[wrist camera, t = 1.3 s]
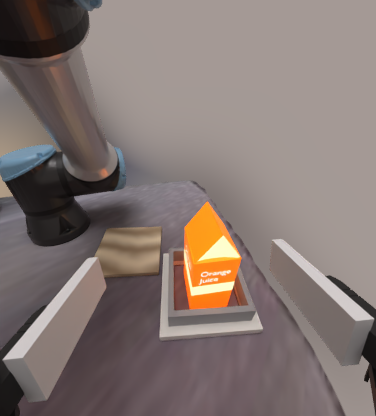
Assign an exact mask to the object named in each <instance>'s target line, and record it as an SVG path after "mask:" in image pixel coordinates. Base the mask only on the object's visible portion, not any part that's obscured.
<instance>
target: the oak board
mask: <svg viewBox="0 0 376 416" xmlns="http://www.w3.org/2000/svg"><path fill="white" fill-rule="evenodd" d="M161 234H162V227H135V228H107V230H106V232H105V235H104V237H103V239H102V241H101V243H100V245H99V248H98V250H97V252H96V254H95V256H94V257H98V258H99V262H100V265H101V269H102V272H103V276H104V278H108V277H127V276H147V275H159V263H160V248H161Z"/></svg>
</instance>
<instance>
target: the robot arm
mask: <svg viewBox="0 0 376 416" xmlns="http://www.w3.org/2000/svg"><path fill="white" fill-rule="evenodd" d="M101 5H102V0H0V71H1V72H2V73H3V75H4V76H5V77H6V79H7V80H8V81H9V82H10V84H11V85H12V86H13V88H14V89H15V90H16V92H17V93H18V94H19V96H20V97H21V98H22V100H23V101H24V102H25V104H26V105H27V106H28V107H29V109H30V110H31V111H32V113H33V114H34V115H35V116H36V118H37V119H38V121H39V122H40V123H41V125H42V126H43V127H44V129H45V130H46V131H47V132H48V134H49V135H50V136H51V137H52V139H53V140H54V142H55V143H56V144H57V146H58V147H59V148H60V149H61V151H62V152H56V149H55V148H54V147H53V146H52V145H38V146H32V147H27V148H23V149H19V150H16V151H13V152H10V153H8V154H6V155H4V156H2V157H0V175H1V177H2V180H3V181H4V182H5V183H6V185H7V187H8V188H9V190H10V191H11V193H12V194H13V196H14V198H15V199H16V201H17V202H18V204H19V205H20V207H21V209H22V210H23V212H24V213H25V215H26V224H27V233H28V236H29V237H30V239H31V240H32V242H33V243H35V244H37V245H41V246H52V245H58V244H62V243H65V242H67V241H70V240H72V239H74V238H76V237H77V236H79V235H80V234H82V233H83V232H84V231H85V230H86V229H87V228H88V226H89V223H90V219H89V217H88V214H87V212H86V211H85V210H83V208H82V207H81V206H80V205H79V204H78V203H77V201H76V200H75V198H74V196H80V195H87V194H94V193H101V192H107V191H116V190H119V189H123V188H124V187H125V185H126V175H125V174H126V170H125V163H124V158H123V154H122V152H121V150H120V149H119V148H115V147H113V146H112V145H111V144H110V143H109V142H107V141H106V138H105V134H104V130H103V127H102V123H101V120H100V116H99V112H98V109H97V105H96V102H95V98H94V95H93V91H92V87H91V84H90V80H89V76H88V73H87V69H86V66H85V62H84V58H83V55H82V51H81V47H80V46H81V45H82V44H83V43H84V42H85V40H86V38H87V36H88V33H89V28H90V24H89V15H88V11H92V10H93V9H94V8H99V7H100V6H101ZM270 271H271V272H272V274H273V275H274V277H275V278H276V279H277V281H278V282H279V283H280V285H281V286H282V287H283V289H284V290H285V291H286V293H288V295H289V296H290V298H291V299H292V300H293V302H294V303H295V304H296V306H297V307H298V308H299V310H300V311H301V312H302V314H303V315H304V316H305V318H306V319H307V320H308V322H310V324H311V326H312V327H313V328H314V330H315V331H316V332H317V334H318V335H319V336H320V338H321V339H322V340H323V341H324V343H325V344H326V345H327V347H328V348H329V349H330V351H331V352H332V353H333V355H334V356H335V357H336V359H337V360H338V361H339V363H340V364H341V365H342V366H348V365H356V364H359V361H360V359H361V356H362V355H363V357H364V358H365V359H366V360H367V361H368V362H369V363H370V364H369V366H368V369H367V371H366V374H365V378H364V381H366V382H368V380H369V378H370V383H371V388H372V395H373V401H374V408H375V415H376V309H375V308H373V307H372V306H371V305H370V304H368V303H367V302H366V301H365V300H364V299H362V298H361V297H360V296H358V295H357V294H356V293H355V292H354V291H353V290H350V288H349V287H347V286H346V285H345V284H344V283H343V282H341V281H340V280H338V279H336V278H334V277H332V276H324V275H323V274H322V273H321V272H320V271H318V270H317V269H316V268H315V267H314V266H312V265H311V264H310V263H309V262H308V261H307V260H306V259H305V258H303V257H302V256H301V255H300V254H299V253H298V252H296V251H295V250H294V249H293V248H292V247H291V246H289V245H288V244H287V243H286V242H285V241H283V239H277V240H272V247H271V259H270ZM106 287H107V286H106V283H105V279H104V276H103V272H102V269H101V265H100V262H99V258H98V257H94V258H87V260H86V261H85V262H84V263H83V264H82V266H81V267H80V268H79V269H78V270H77V272H76V273H75V274H74V275H73V276H72V277H71V279H70V280H69V281H68V282H67V283H66V285H65V286H64V287H63V288H62V289H61V291H60V292H59V293H58V294H57V295H56V297H55V298H54V299H53V300H52V301H51V303H50V304H49V305H47V306H43V307H41V308H40V309H39V310H38V311H36V312H35V313H34V314H33V315H32V316H31V317H30V318H29V319H28V320H27V321H26V323H25V324H24V326H22V327H21V328H20V329H19V330H18V332H17V334H15V335H14V336H13V337H12V338H11V339H10V341H9V342H8V343H7V344H6V345H5V346H4V347H3V349H2V350H1V351H0V416H20V410H19V407H18V405H17V404H18V403H19V401H20V400H21V398H22V397H23V395H25V397H26V398H27V400H28V401H29V402H37V401H46V400H47V399H48V398H49V396H50V394H51V392H52V390H53V388H54V386H55V384H56V382H57V380H58V379H59V377H60V375H61V373H62V371H63V369H64V367H65V365H66V363H67V361H68V359H69V358H70V356H71V354H72V352H73V350H74V348H75V346H76V344H77V342H78V340H79V338H80V337H81V335H82V333H83V331H84V329H85V327H86V325H87V323H88V321H89V319H90V318H91V316H92V314H93V312H94V310H95V308H96V306H97V304H98V302H99V300H100V298H101V297H102V295H103V293H104V291H105V289H106Z"/></svg>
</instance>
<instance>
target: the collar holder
mask: <svg viewBox="0 0 376 416" xmlns="http://www.w3.org/2000/svg"><path fill="white" fill-rule="evenodd" d="M174 265H184V248H169V253H166V254H163V275H162V296H161V317H160V341H166V340H178V339H191V338H203V337H215V336H228V335H240V334H252V333H261V332H262V330H263V328H262V325H261V322H260V320H259V317H258V314H257V312H256V309H255V306H254V303H253V301H252V298H251V296H250V293H249V290H248V288H247V285H246V282H245V280H244V277H243V275H242V272H241V269H240V267H239V268H238V271H237V274H236V278H235V282H234V285H233V289H234V292H235V295H236V299H237V302H238V305H239V306H232V307H218V308H203V309H188V310H174Z"/></svg>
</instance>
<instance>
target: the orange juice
mask: <svg viewBox="0 0 376 416" xmlns="http://www.w3.org/2000/svg"><path fill="white" fill-rule="evenodd" d="M241 259H242V258H241V257H240V255H239V253H238V251H237V249H236V247H235V245H234V243H233V241H232V239H231V237H230V235H229V233H228V231H227V230H226V228H225V226H224V224H223V222H222V221H221V220H220V218H219V217H218V216H217V214H216V213H215V211H214V210H213V209H212V207H211V206H210V205H209V203H208V202H206V204H205V205H204V206H203V207H202V208H201V209H200V211H199V212H198V213H197V214H196V215H195V216H194V218H193V219H192V220H191V221H190V222H189V223H188V225H187V226H186V227H185V248H184V277H185V283H186V289H187V295H188V301H189V307H190V309H203V308H218V307H225V306H227V304H228V301H229V297H230V294H231V291H232V289H233V285H234V282H235V278H236V274H237V271H238V268H239V264H240V261H241Z"/></svg>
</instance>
